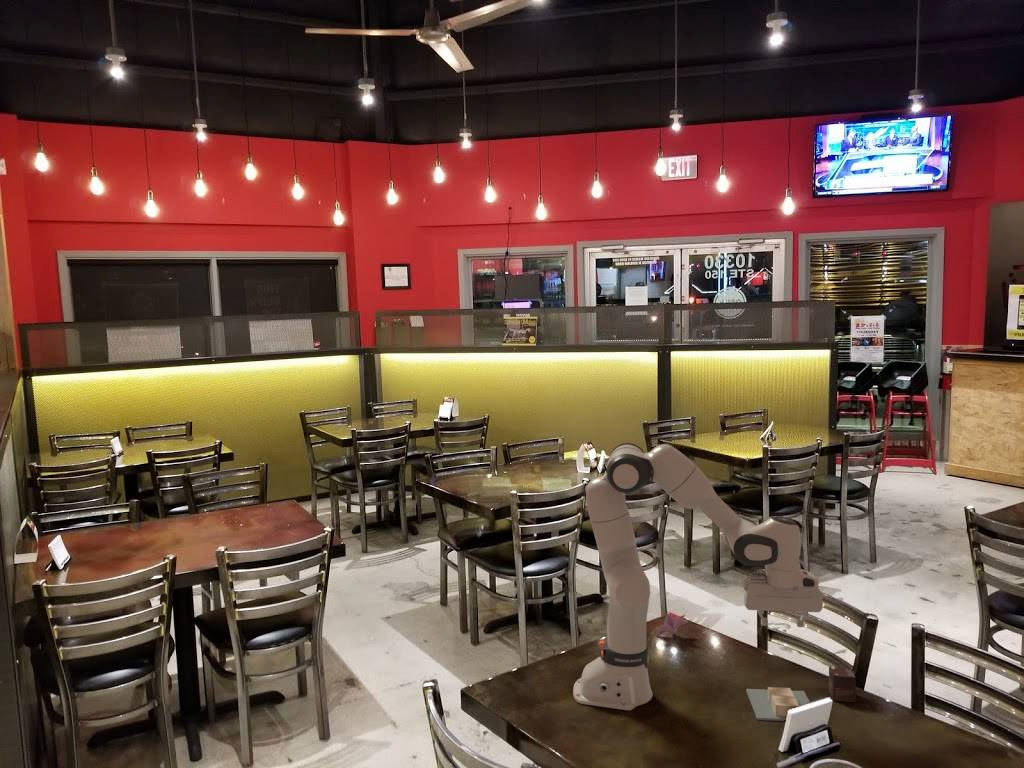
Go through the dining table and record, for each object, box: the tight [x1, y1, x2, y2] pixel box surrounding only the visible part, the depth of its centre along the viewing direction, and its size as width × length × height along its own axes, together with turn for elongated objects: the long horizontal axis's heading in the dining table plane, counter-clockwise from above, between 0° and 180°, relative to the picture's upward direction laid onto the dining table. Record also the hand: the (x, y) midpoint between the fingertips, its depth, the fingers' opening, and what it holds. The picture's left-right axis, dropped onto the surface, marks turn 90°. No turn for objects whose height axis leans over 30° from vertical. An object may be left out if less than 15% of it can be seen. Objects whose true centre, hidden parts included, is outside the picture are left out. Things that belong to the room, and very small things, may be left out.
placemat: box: [745, 688, 811, 722], centre depth 207 cm, size 16×16×1 cm
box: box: [828, 666, 857, 703], centre depth 211 cm, size 6×6×7 cm
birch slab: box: [767, 686, 799, 716], centre depth 205 cm, size 6×3×10 cm
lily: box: [655, 614, 689, 644], centre depth 251 cm, size 12×12×10 cm
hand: (782, 625), depth 205 cm, fingers open, 8 cm apart
